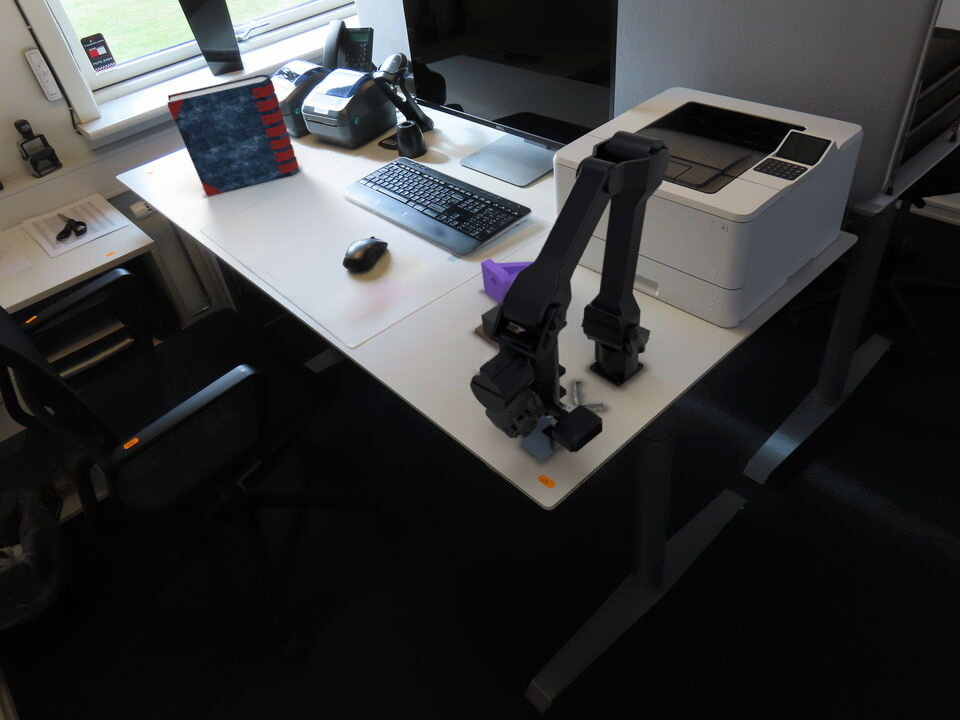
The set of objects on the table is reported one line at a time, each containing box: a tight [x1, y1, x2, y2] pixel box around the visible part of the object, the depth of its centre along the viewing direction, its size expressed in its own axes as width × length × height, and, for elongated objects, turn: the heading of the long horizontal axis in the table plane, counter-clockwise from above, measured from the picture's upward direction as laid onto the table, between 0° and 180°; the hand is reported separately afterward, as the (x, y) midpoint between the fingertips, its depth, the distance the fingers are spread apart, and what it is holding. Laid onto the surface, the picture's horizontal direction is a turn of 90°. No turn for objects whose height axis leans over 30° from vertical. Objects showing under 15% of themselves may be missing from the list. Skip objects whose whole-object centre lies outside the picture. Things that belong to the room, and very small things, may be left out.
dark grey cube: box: [480, 303, 519, 336], centre depth 119 cm, size 4×5×4 cm
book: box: [167, 74, 300, 197], centre depth 172 cm, size 25×7×25 cm, turn 108°
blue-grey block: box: [521, 416, 562, 462], centre depth 100 cm, size 4×5×4 cm
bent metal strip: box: [572, 379, 604, 412], centre depth 107 cm, size 7×1×5 cm
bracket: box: [480, 258, 535, 304], centre depth 129 cm, size 12×7×7 cm, turn 123°
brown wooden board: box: [474, 323, 522, 350], centre depth 122 cm, size 8×11×1 cm
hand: (543, 440), depth 101 cm, fingers open, 5 cm apart
